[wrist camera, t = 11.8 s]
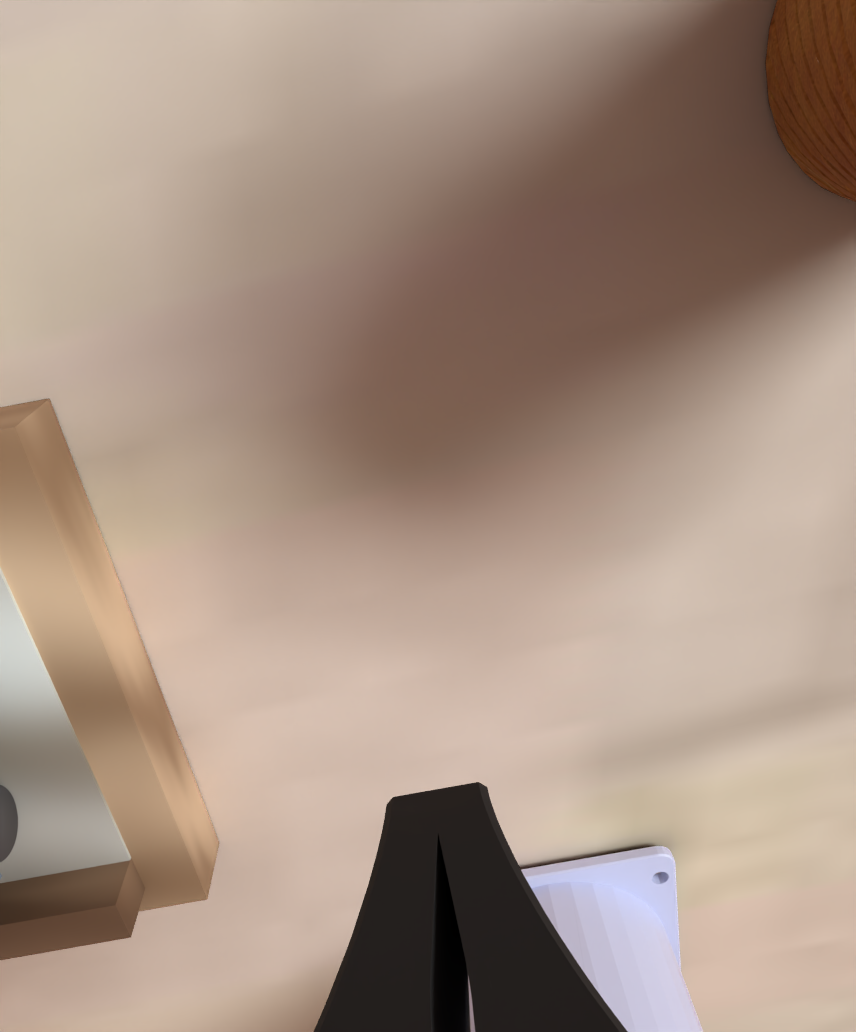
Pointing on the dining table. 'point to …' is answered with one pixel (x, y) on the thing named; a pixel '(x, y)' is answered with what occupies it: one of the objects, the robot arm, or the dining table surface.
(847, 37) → the disposable coffee cup
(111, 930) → the dock
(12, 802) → the blue block with feet
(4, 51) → the dining table surface
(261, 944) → the dining table surface
